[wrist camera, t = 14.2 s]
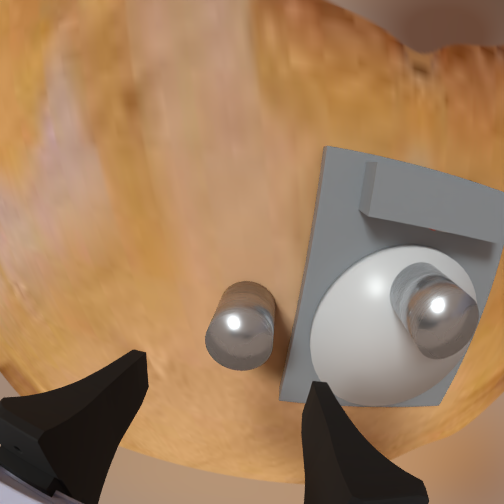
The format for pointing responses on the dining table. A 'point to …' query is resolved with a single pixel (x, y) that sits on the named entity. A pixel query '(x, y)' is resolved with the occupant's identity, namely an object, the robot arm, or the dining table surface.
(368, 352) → the scale
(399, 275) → the cylinder
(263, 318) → the cylinder
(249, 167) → the dining table surface
